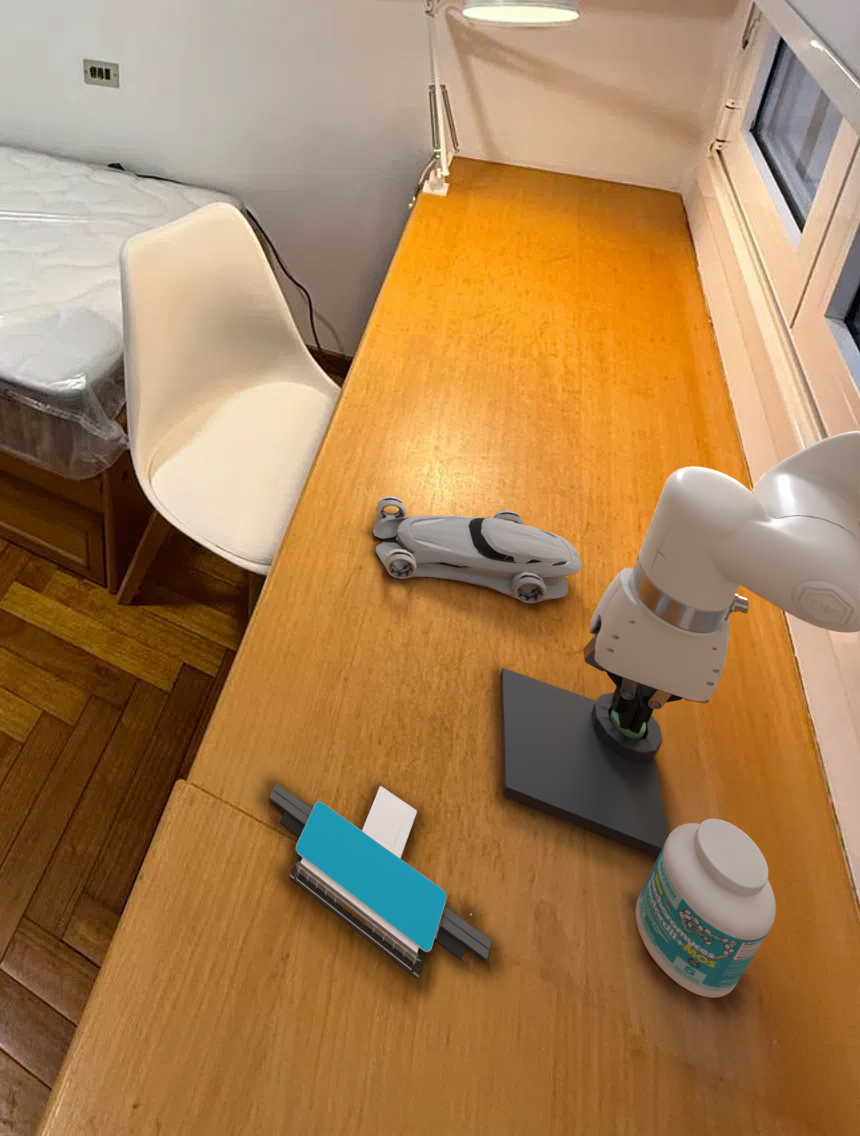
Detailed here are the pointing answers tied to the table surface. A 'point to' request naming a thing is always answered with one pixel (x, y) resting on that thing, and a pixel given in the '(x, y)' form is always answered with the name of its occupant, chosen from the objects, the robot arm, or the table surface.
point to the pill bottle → (706, 906)
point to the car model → (476, 551)
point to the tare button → (628, 732)
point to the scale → (580, 762)
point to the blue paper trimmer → (374, 879)
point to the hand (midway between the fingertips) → (626, 717)
